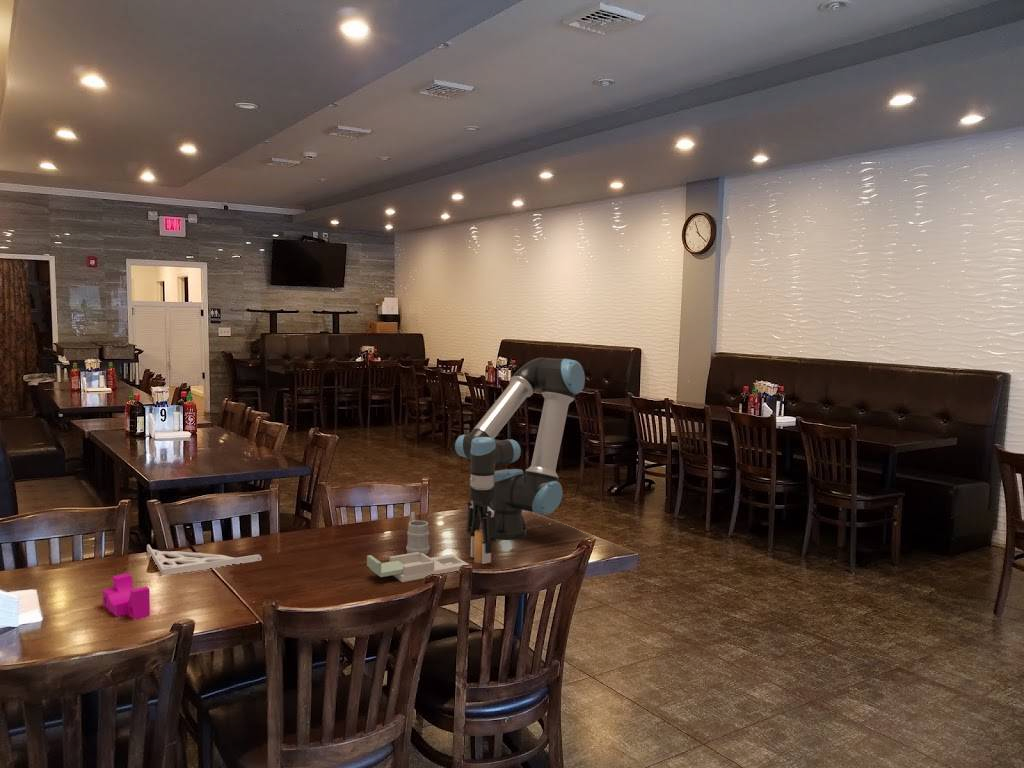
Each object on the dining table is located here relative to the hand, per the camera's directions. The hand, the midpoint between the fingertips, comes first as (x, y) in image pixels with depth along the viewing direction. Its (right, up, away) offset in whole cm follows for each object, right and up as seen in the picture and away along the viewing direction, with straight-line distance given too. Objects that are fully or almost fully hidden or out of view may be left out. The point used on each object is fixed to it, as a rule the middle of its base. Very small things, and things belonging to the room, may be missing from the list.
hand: (480, 559), depth 235 cm
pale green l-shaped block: (-26, +1, -17) cm, 31 cm away
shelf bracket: (-87, 0, +1) cm, 88 cm away
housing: (-15, -1, -9) cm, 18 cm away
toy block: (-88, -3, -44) cm, 99 cm away
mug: (-22, 0, +10) cm, 24 cm away
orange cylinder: (0, -1, 0) cm, 1 cm away
